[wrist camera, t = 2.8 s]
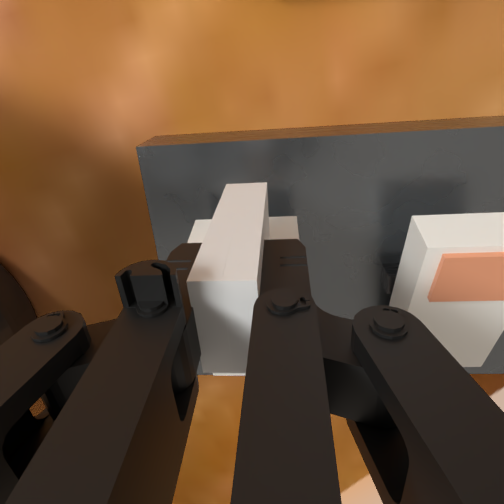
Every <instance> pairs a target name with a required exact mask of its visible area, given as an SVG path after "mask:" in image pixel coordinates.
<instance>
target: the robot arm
mask: <svg viewBox="0 0 504 504" xmlns="http://www.w3.org/2000/svg"><path fill="white" fill-rule="evenodd" d="M115 279H116V283H117V286H118V290H119V293H120V297H121V300H122V303H123V307H124V308H123V310H122V311H121V313H120V315H119V316H118V318H117V319H113V320H110V321H105V322H101V323H96V324H92V325H87V326H86V323H85V320H84V318H83V317H82V315H81V314H80V313H77V312H75V311H57V312H52V313H48V314H46V315H44V316H42V317H39V318H36V315H35V312H34V310H33V308H32V305H31V303H30V302H29V300H28V298H27V296H26V295H25V293H24V291H23V290H22V288H21V287H20V286H19V284H18V283H17V282H16V280H15V279H14V278H13V277H12V276H11V275H10V273H9V272H8V271H7V270H6V269H5V268H4V267H3V266H2V265H1V264H0V504H172V500H173V496H174V492H175V488H176V484H177V479H178V475H179V471H180V467H181V463H182V458H183V454H184V450H185V446H186V442H187V437H188V433H189V429H190V425H191V421H192V416H193V412H194V408H195V404H196V400H197V395H198V391H199V383H198V378H197V369H198V365H199V361H200V359H201V365H202V370H203V373H246V375H245V384H244V393H243V401H242V410H241V418H240V427H239V436H238V444H237V453H236V461H235V470H234V478H233V487H232V496H231V504H341V496H340V488H339V480H338V472H337V464H336V457H335V449H334V441H333V433H332V425H331V418H330V413H331V414H334V415H337V416H340V417H344V418H346V420H347V424H348V426H349V429H350V431H351V433H352V435H353V437H354V440H355V442H356V444H357V446H358V449H359V451H360V453H361V455H362V457H363V460H364V462H365V464H366V466H367V469H368V471H369V473H370V475H371V477H372V480H373V482H374V484H375V486H376V489H377V491H378V493H379V495H380V497H381V500H382V502H383V504H504V412H503V411H502V410H501V409H500V408H499V407H498V406H497V405H496V404H495V402H494V401H493V400H492V399H491V398H490V397H489V396H488V395H487V393H486V392H485V391H484V390H483V389H482V388H481V387H480V386H479V385H478V384H477V382H476V381H475V380H474V379H473V378H472V377H471V376H470V375H469V374H468V372H467V371H466V370H465V369H464V368H463V367H462V366H461V365H460V364H459V363H458V361H457V360H456V359H455V358H454V357H453V356H452V355H451V354H450V353H449V351H448V350H447V349H446V348H445V347H444V346H443V345H442V344H441V343H440V342H439V340H438V339H437V338H436V337H435V336H434V335H433V334H432V333H431V332H430V331H429V329H428V328H427V327H426V326H425V325H424V324H423V323H422V322H421V321H420V320H419V319H418V318H417V317H415V316H414V315H413V314H411V313H409V312H407V311H405V310H403V309H400V308H397V307H392V306H386V305H381V306H370V307H367V308H364V309H362V310H360V311H359V312H358V313H357V314H356V315H355V316H354V319H353V320H352V319H347V318H342V317H338V316H335V315H331V314H329V313H327V312H325V311H323V310H322V309H320V308H319V307H318V306H317V305H316V304H315V302H314V299H313V298H312V296H311V288H310V280H309V272H308V264H307V256H306V248H305V246H304V245H303V244H302V243H301V242H300V241H299V240H298V239H272V240H270V232H269V212H268V191H267V182H264V183H240V184H226V186H225V189H224V191H223V193H222V196H221V198H220V201H219V203H218V206H217V208H216V211H215V213H214V215H213V218H212V220H211V223H210V225H209V228H208V230H207V232H206V235H205V237H204V240H203V242H202V243H182V244H180V245H179V246H178V247H176V248H175V249H174V250H172V251H171V253H170V254H169V256H168V258H167V260H166V261H164V260H148V261H141V262H138V263H135V264H132V265H130V266H128V267H126V268H124V269H122V270H121V271H120V272H118V273H117V274H116V275H115ZM40 397H41V399H42V401H43V403H44V405H45V407H46V408H45V410H44V411H42V412H41V413H40V414H39V415H37V416H33V415H32V413H31V411H30V410H29V408H30V407H31V406H32V405H33V404H34V403H35V402H36V401H37V400H38V399H39V398H40Z"/></svg>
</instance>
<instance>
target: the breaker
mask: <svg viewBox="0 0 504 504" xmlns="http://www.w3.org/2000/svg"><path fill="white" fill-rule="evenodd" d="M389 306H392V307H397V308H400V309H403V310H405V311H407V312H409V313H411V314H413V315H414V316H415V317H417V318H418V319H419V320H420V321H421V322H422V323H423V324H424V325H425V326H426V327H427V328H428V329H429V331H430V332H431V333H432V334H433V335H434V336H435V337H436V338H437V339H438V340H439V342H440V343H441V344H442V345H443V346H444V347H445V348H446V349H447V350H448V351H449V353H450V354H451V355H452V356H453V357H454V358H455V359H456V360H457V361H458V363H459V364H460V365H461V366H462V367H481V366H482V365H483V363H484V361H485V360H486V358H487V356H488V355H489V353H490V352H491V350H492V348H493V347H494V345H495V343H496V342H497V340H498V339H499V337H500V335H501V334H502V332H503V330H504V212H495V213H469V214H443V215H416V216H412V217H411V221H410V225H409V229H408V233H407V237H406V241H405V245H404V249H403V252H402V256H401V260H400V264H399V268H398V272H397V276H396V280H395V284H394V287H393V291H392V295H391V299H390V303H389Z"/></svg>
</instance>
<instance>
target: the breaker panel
mask: <svg viewBox="0 0 504 504" xmlns="http://www.w3.org/2000/svg"><path fill="white" fill-rule="evenodd" d="M136 150H137V155H138V160H139V165H140V170H141V175H142V180H143V185H144V190H145V195H146V200H147V205H148V210H149V215H150V220H151V225H152V230H153V235H154V240H155V245H156V250H157V255H158V260H164V261H166V260H167V258H168V256H169V254H170V253H171V251H172V250H174V249H175V248H176V247H178V246H179V245H180V244H182V243H187V242H188V239H189V237H190V234H191V231H192V228H193V226H194V223H195V220H205V219H212V218H213V215H214V213H215V211H216V208H217V206H218V203H219V201H220V198H221V196H222V193H223V191H224V189H225V186H226V184H240V183H264V182H267V191H268V212H269V217H282V216H297V223H298V232H299V241H300V242H301V243H302V244H303V245H304V246H305V248H306V256H307V264H308V272H309V280H310V288H311V296H312V298H313V299H314V302H315V304H316V305H317V306H318V307H319V308H320V309H322V310H323V311H325V312H327V313H329V314H331V315H335V316H338V317H342V318H347V319H352V320H353V319H354V316H355V315H356V314H357V313H358V312H359V311H360V310H362V309H364V308H367V307H370V306H381V305H386V306H389V303H390V299H391V295H392V291H393V287H394V284H395V280H396V276H397V272H398V268H399V264H400V260H401V256H402V252H403V249H404V245H405V241H406V237H407V233H408V229H409V225H410V221H411V217H412V216H416V215H443V214H469V213H495V212H504V116H492V117H475V118H458V119H441V120H424V121H406V122H389V123H372V124H355V125H338V126H321V127H304V128H287V129H270V130H253V131H236V132H219V133H202V134H184V135H167V136H155V137H153V138H151V139H149V140H148V141H146V142H144V143H142V144H140V145H138V146H137V147H136ZM463 368H464V369H465V370H466V371H467V372H468V374H504V330H503V332H502V334H501V335H500V337H499V339H498V340H497V342H496V343H495V345H494V347H493V348H492V350H491V352H490V353H489V355H488V356H487V358H486V360H485V361H484V363H483V365H482V366H481V367H463ZM197 375H213V373H203V370H202V365H201V359H200V361H199V365H198V369H197ZM235 376H245V375H235Z"/></svg>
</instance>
